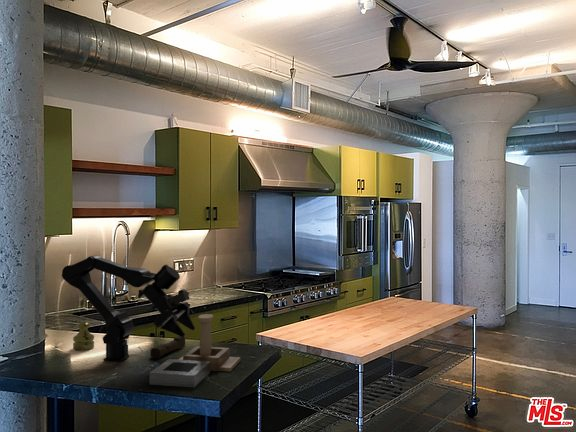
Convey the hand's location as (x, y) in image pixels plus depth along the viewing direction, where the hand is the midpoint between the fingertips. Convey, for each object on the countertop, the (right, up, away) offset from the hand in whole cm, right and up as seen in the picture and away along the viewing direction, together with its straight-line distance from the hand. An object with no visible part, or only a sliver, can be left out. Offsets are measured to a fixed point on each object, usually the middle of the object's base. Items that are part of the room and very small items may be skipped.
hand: (189, 332), depth 168 cm
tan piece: (+6, -10, -1) cm, 12 cm away
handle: (+6, -9, -1) cm, 11 cm away
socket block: (+1, -10, -15) cm, 19 cm away
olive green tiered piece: (-43, -10, +18) cm, 48 cm away
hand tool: (-10, -11, +14) cm, 21 cm away
